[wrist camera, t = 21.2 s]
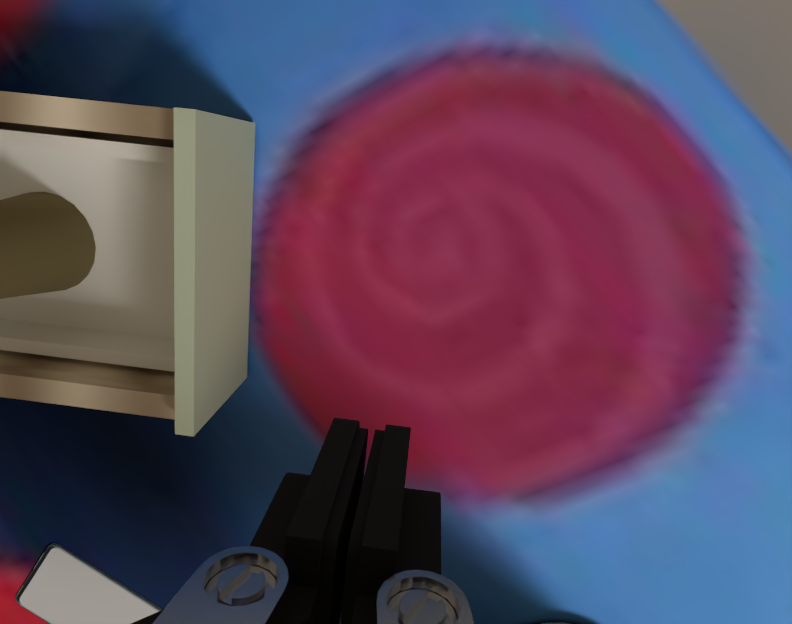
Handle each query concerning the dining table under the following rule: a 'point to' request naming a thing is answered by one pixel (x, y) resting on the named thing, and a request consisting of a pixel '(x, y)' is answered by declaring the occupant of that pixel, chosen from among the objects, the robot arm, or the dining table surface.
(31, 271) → the cork
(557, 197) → the dining table surface
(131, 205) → the drawer
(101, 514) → the dining table surface
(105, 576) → the smartphone
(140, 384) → the caddy
